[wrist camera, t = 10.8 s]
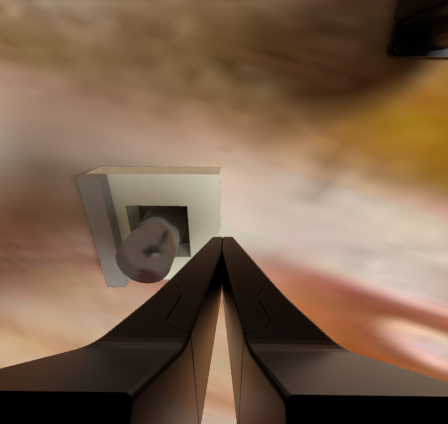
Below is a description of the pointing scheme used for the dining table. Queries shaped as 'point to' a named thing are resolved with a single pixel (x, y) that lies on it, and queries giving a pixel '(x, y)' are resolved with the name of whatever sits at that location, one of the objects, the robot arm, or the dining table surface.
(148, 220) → the metal cylinder rod
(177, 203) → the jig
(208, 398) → the dining table surface
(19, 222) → the dining table surface
